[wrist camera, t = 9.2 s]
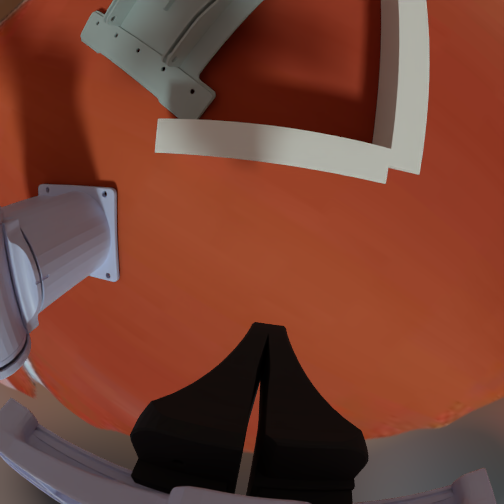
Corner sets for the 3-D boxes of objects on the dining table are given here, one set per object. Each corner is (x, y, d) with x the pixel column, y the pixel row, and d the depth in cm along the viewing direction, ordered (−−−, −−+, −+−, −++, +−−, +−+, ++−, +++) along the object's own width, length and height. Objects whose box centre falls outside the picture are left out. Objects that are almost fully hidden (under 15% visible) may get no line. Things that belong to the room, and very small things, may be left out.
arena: (179, 151, 19) (154, 152, 15) (224, -78, 11) (215, -102, 7) (393, 183, 18) (416, 191, 14) (397, -55, 10) (410, -77, 6)
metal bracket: (151, -88, 7) (317, -26, 9) (188, -66, 12) (325, 3, 14) (60, 50, 15) (169, 144, 17) (105, 48, 20) (207, 130, 22)
